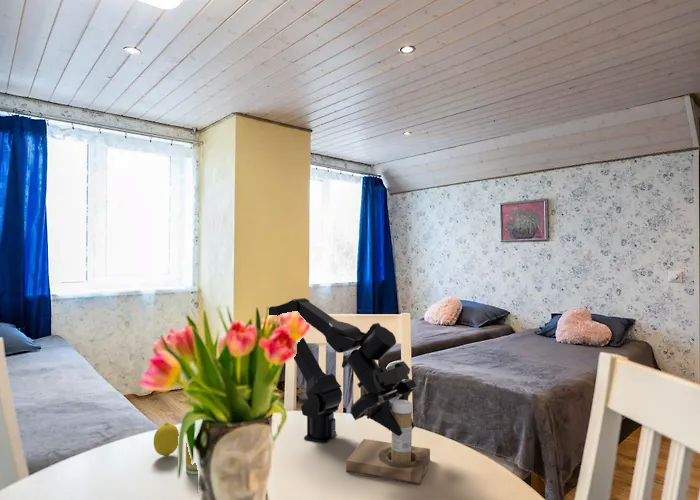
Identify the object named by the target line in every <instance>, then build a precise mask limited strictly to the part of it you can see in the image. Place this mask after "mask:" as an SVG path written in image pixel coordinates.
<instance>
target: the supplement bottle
mask: <svg viewBox="0 0 700 500" xmlns="http://www.w3.org/2000/svg"><path fill="white" fill-rule="evenodd" d="M185 471H186V472H187V474H190V475H199V474H198V470H197V465H196V463H194V464H193V465H192V464H191V458H190V455H189V452H188V447H187V443H186V442H185Z"/></svg>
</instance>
